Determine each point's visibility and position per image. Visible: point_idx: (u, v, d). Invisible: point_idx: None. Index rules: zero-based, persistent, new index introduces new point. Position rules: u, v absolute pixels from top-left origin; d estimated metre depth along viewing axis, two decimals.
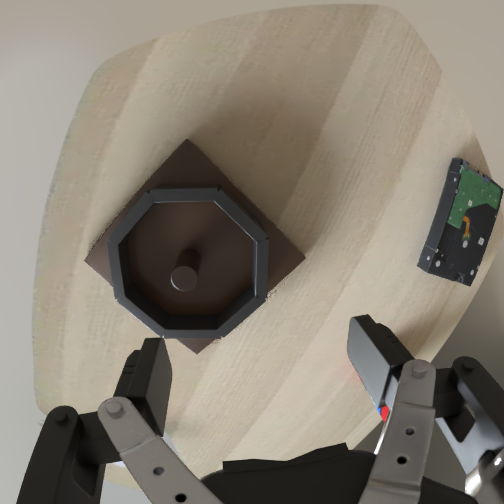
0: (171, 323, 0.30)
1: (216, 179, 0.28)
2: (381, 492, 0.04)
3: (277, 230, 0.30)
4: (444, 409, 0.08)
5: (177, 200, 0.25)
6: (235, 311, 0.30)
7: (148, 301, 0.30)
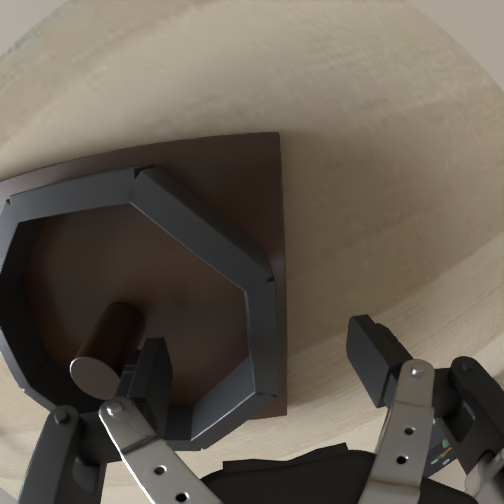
0: (44, 379, 0.13)
1: (267, 239, 0.14)
2: (381, 492, 0.04)
3: (285, 369, 0.16)
4: (443, 409, 0.08)
5: (180, 237, 0.10)
6: None
7: (27, 324, 0.13)
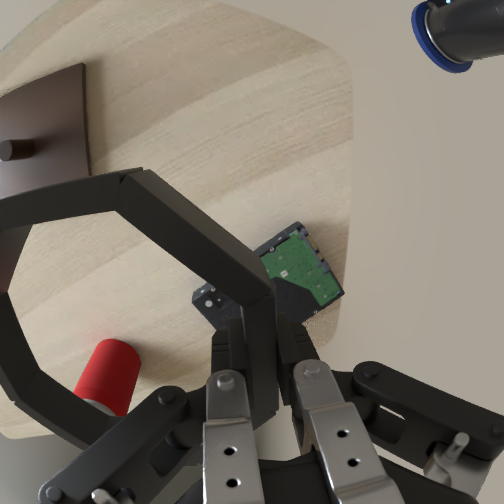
0: (34, 391, 0.12)
1: (76, 101, 0.26)
2: (381, 492, 0.04)
3: (87, 167, 0.28)
4: None
5: (170, 248, 0.09)
6: None
7: (15, 335, 0.12)
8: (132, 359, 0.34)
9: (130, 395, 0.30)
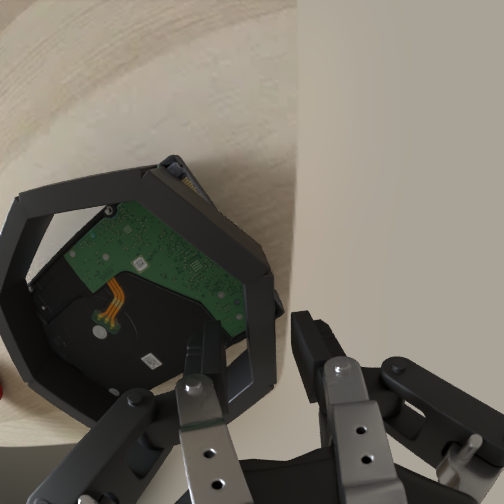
0: (47, 373, 0.14)
1: None
2: (381, 492, 0.04)
3: None
4: None
5: (183, 233, 0.11)
6: None
7: (31, 319, 0.14)
8: None
9: None
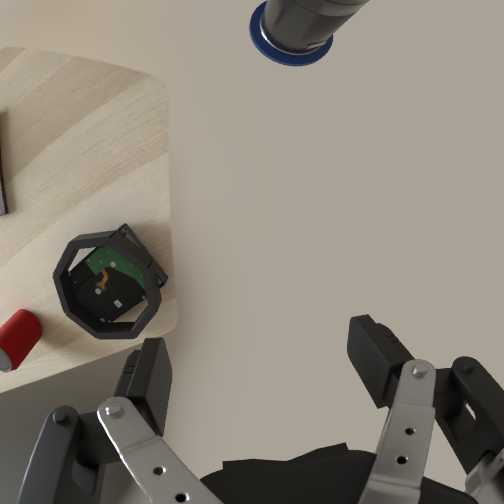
0: (75, 309, 0.38)
1: None
2: (381, 492, 0.04)
3: (1, 188, 0.34)
4: (444, 409, 0.08)
5: (122, 255, 0.35)
6: (114, 331, 0.39)
7: (70, 286, 0.38)
8: (32, 324, 0.40)
9: (24, 348, 0.36)
